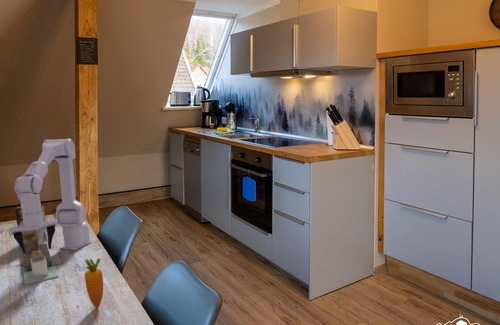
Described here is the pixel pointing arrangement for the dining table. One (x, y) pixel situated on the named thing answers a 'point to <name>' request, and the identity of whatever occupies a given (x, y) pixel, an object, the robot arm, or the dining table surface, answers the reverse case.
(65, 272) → the dining table surface
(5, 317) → the dining table surface
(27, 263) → the hand plane
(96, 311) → the dining table surface
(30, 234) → the coffee box
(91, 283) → the carrot
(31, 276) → the mat
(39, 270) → the lever cap
